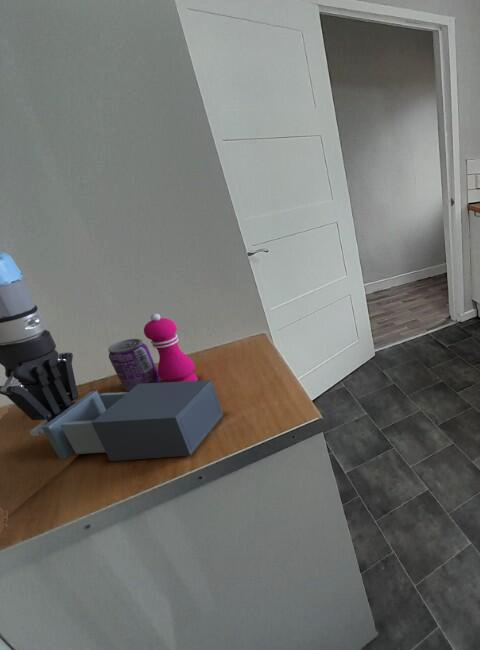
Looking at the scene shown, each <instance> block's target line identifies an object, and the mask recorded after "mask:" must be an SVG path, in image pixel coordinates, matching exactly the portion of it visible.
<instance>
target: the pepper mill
mask: <svg viewBox="0 0 480 650" xmlns="http://www.w3.org/2000/svg"><path fill="white" fill-rule="evenodd" d="M177 330H178V326H177V325H176V323H175V322H174V321H173V320H172V319H170V318H167V317H161V315H160V314H159V313H153V314H151V315H150V320H149V321H148V322H147V323H146V324H145V325H144V327H143V334H144V336H145V337H146V338H147V339H148V340H151V341H150V343H151V345H152V347H153V348H154V349H156V350H157V353H158V355H159V356H158V357H159V360H158V364H157V370H158V375H159V377H160V378H161V380H162V381H165V382H185V381H198V376H197V374H196V372H195V369H196V364H195V363H194V361H193V360H192V359H191V358H190V357H189V356H188V355H187V354H185V352H183V351H182V349H181V348H180V347H179V343H178V341H180V340H179V337H178V334H177Z"/></svg>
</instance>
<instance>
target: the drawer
mask: <svg viewBox="0 0 480 650" xmlns="http://www.w3.org/2000/svg"><path fill="white" fill-rule="evenodd" d="M127 393H128V392H127V391H121V392H120V391H119V392H102V393H99V392H98V390H91V391H90V392H88V393H87V394H85V395H84V396H83V397H80V399H78V400H77V401H76V402H73V403H74V404H73V405H72V406H70V407H69V408H68V409H66V410H65V411H63V412H62V413H61V414H59V415H58V416H57V417H55V418H54V419H53V420H51V421H50V422H48V421H47V420H42V422H41V423H39V424H37V425H36V426H35V427H33V428H32V429H31V430H29V434H30V435H31V436H33V437H38V436H40V435H41V434H45V436H46V438H47V440H48V441H49V443H50V445H51V447H52V448H53V450H54V452H55V455H57V458H58V459H59V460H63V459H67V458H69V457H70V456H71V455H72V454H73V453H75V455H83V454H84V455H85V454H98V453H100V454H101V453H106V451H105V449H104V447H103V445H102V443H101V441H100V439H99V437H98V435H97V433H96V431H95V429H94V427H93V425H92V423H91V422H92V421H94V420H95V419H96V418H97V417H99V416H100V415H101V414H102V413H103V412H105V411H106V410H107V409H108V408H110V407H111V406H112V405H113V404H115V403H116V402H117V401H118V400H119V399H121V398H122V397H123V396H124V395H126V394H127Z"/></svg>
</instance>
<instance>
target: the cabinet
mask: <svg viewBox="0 0 480 650" xmlns="http://www.w3.org/2000/svg"><path fill="white" fill-rule="evenodd" d="M223 416H224V413H223V410H222V407H221V405H220V402H219V399H218V395H217V392H216V389H215V386H214V384H213V380H212V379H208V380H207V379H206V380H205V379H204V380H197V381H185V382H158V383H144V384H138V385H137V386H135V387H134V388H133V389H132V390H130V391H129V392H128V393H127V394H126V395H124V396H123V397H122V398H121V399H119V400H118V401H117V402H116V403H115V404H113V405H112V406H111V407H110V408H108V409H107V410H106V411H105V412H103V413H102V414H101V415H100V416H99V417H97V418H96V419H95V420H94V421H92V422H91V423H92V425H93V427H94V429H95V431H96V433H97V435H98V437H99V439H100V441H101V443H102V445H103V447H104V449H105V451H106V452H105V453H106V456H107V457H108V459H109V462H117V461H118V462H119V461H133V460H143V459H144V460H146V459H160V458H161V459H162V458H175V457H176V458H177V457H190V456H192V455H193V453H194V452H195V451H196V449H197V448H198V447H199V446H200V445H201V444H202V442H203V441H204V440H205V438H206V437H207V436H208V434H209V433H210V432H211V431H212V430H213V428H214V427H215V426H216V425H217V423H218V422H219V421H220V419H222V417H223Z"/></svg>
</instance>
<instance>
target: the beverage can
mask: <svg viewBox="0 0 480 650" xmlns="http://www.w3.org/2000/svg"><path fill="white" fill-rule="evenodd" d="M108 352H109V353H108V359H109V361H110V363H111V365H112V367H113V369H114V371H115V374H116V375H117V378H118V379H119V381H120V384H121V386H122V387H123V390H124V392H129V391H130V390H132V389H133V388H134V387H135V386H137V385H138V384H144V383H160V381H161V380H162V379H161V378H160V377H159V375H158V367H157V365H156V363H155V361H154V359H153V356H152V354H151V352H150V349H149V348H148V345H147V344H145V343H144V342H143V340H142V339H141V338H129V339H125V340H121V341H118V342H116V343H114V344H111V346H109V347H108Z"/></svg>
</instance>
